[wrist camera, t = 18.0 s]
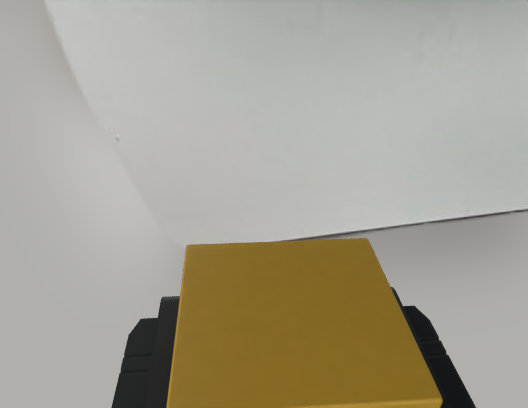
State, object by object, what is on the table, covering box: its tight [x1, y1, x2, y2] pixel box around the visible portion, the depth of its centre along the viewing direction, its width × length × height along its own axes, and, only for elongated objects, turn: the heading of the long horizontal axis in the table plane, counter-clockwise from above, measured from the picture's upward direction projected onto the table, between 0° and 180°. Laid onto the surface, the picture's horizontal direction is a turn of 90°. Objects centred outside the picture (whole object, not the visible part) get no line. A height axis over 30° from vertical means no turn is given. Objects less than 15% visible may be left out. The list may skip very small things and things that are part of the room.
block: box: [166, 238, 443, 408], centre depth 10 cm, size 4×4×4 cm
